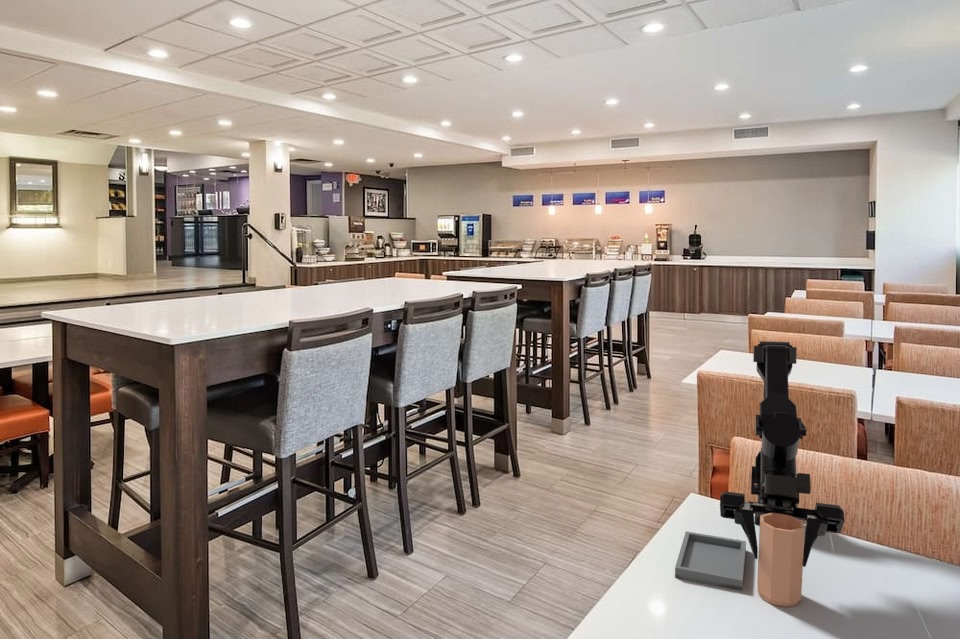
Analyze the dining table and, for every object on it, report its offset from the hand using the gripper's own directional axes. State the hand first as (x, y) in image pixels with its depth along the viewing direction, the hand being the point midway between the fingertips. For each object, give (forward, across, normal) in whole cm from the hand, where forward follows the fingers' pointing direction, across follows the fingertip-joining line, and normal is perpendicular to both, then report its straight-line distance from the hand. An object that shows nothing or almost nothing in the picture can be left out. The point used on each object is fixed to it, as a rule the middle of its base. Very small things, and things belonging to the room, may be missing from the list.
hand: (779, 562), depth 99 cm
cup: (+4, 0, +6) cm, 7 cm away
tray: (-2, -11, +11) cm, 15 cm away
